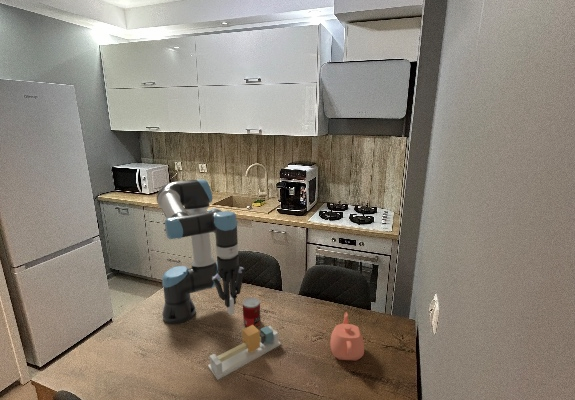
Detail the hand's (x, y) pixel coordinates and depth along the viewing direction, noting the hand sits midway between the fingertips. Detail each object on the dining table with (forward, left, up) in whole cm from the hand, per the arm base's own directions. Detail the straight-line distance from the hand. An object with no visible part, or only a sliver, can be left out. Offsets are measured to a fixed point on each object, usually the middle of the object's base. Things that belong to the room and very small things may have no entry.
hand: (230, 312), depth 117 cm
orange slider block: (0, +8, -19) cm, 21 cm away
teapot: (+24, +38, -22) cm, 50 cm away
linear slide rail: (0, +5, -22) cm, 23 cm away
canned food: (-16, +18, -22) cm, 33 cm away
